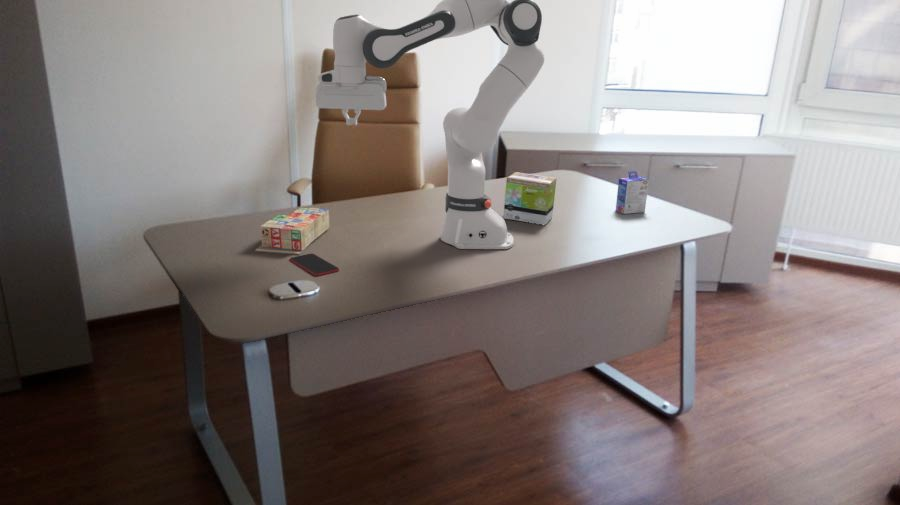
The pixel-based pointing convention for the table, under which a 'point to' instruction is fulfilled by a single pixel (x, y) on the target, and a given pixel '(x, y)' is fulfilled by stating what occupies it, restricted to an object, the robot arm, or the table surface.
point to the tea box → (529, 198)
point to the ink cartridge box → (632, 194)
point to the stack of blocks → (295, 229)
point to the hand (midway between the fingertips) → (351, 124)
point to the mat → (278, 250)
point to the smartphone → (314, 264)
